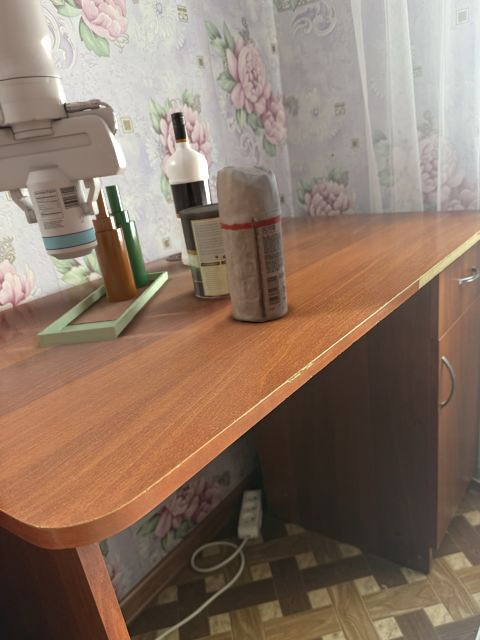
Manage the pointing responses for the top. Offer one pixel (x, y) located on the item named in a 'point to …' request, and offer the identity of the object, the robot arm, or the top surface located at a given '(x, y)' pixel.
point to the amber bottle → (112, 255)
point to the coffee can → (205, 250)
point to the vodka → (186, 176)
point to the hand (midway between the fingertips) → (63, 219)
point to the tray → (100, 329)
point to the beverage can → (61, 213)
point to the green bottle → (128, 236)
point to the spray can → (252, 242)
